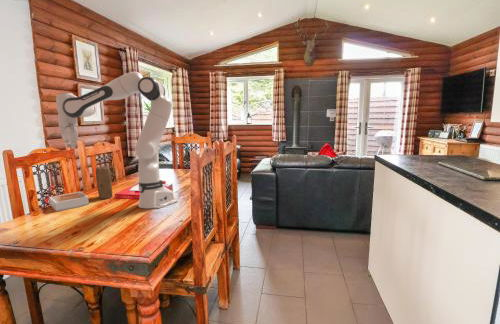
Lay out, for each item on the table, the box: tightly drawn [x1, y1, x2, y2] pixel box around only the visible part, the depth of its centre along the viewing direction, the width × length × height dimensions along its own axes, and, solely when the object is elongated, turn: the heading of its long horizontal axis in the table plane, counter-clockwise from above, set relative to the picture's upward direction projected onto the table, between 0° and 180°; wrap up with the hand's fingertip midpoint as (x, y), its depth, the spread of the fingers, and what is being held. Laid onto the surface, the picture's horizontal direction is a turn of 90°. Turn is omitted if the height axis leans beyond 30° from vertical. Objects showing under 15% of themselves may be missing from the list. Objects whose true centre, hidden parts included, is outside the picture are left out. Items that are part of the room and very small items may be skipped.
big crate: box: [48, 191, 90, 212], centre depth 160 cm, size 16×16×5 cm
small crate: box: [56, 192, 80, 202], centre depth 160 cm, size 10×6×5 cm, turn 136°
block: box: [95, 165, 113, 200], centre depth 173 cm, size 11×8×20 cm
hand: (71, 147), depth 152 cm, fingers open, 8 cm apart
